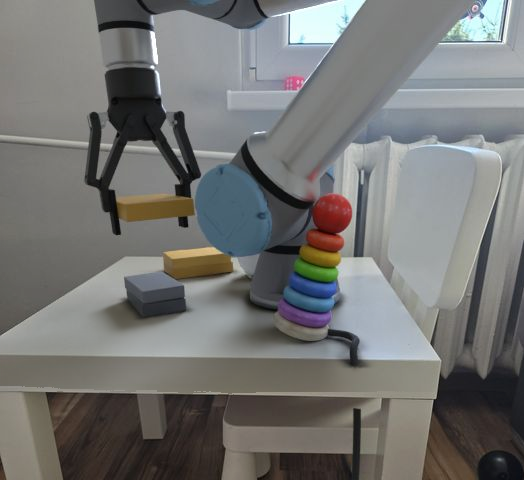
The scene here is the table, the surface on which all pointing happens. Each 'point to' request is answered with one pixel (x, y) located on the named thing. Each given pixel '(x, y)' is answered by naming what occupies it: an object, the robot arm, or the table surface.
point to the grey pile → (155, 294)
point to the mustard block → (153, 207)
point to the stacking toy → (315, 273)
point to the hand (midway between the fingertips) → (151, 230)
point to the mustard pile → (196, 262)
